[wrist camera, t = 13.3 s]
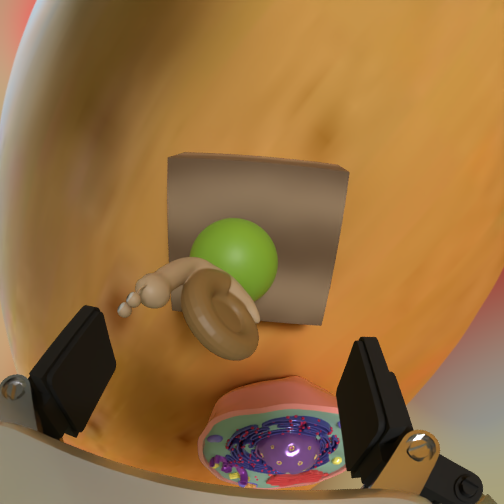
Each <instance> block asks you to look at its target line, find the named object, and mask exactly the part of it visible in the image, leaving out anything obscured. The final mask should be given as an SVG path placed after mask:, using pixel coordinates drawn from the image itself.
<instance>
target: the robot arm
mask: <svg viewBox="0 0 504 504" xmlns="http://www.w3.org/2000/svg"><path fill="white" fill-rule="evenodd" d="M115 368H116V360H115V357H114V353H113V350H112V346H111V343H110V339H109V335H108V331H107V327H106V323H105V319H104V315H103V313H102V312H100V310H99V308H97V307H92V306H87V305H85V306H83V307H82V308H81V309H80V311H79V312H78V313H77V314H76V315H75V316H74V318H73V319H72V320H71V321H70V322H69V324H68V325H67V326H66V327H65V328H64V330H63V331H62V332H61V333H60V335H59V336H58V337H57V338H56V340H55V341H54V342H53V343H52V345H51V346H50V347H49V348H48V350H47V351H46V352H45V353H44V355H43V356H42V357H41V359H40V360H39V361H38V363H37V364H36V365H35V366H34V368H33V369H32V370H31V372H30V373H29V374H30V377H29V378H28V379H27V378H26V377H25V376H23V375H19V374H16V375H11V376H8V377H7V378H5V379H4V380H3V381H2V382H1V384H0V504H497V503H496V502H495V501H494V500H493V499H492V498H491V497H490V496H489V495H488V494H487V495H484V494H483V493H482V492H483V485H482V481H481V480H480V478H479V477H478V476H477V475H475V474H474V473H472V472H471V471H468V470H467V469H465V468H463V467H461V466H459V465H458V464H456V463H454V462H452V461H451V460H449V459H447V458H445V457H444V456H442V455H440V454H439V453H440V445H439V442H438V440H437V439H436V438H435V436H434V435H432V434H430V433H429V432H427V431H424V430H413V427H412V424H411V421H410V417H409V414H408V411H407V408H406V405H405V402H404V399H403V396H402V393H401V390H400V388H399V385H398V382H397V379H396V376H395V375H394V373H393V372H389V370H388V367H387V364H386V361H385V359H384V356H383V353H382V350H381V348H380V345H379V342H378V340H377V338H376V337H360V339H359V341H355V342H354V344H353V347H352V350H351V352H350V355H349V358H348V361H347V364H346V366H345V369H344V372H343V374H342V377H341V380H340V382H339V385H338V387H337V391H336V399H337V406H338V412H339V419H340V426H341V433H342V441H343V448H344V456H345V464H346V470H347V471H351V476H352V478H359V477H361V481H362V483H363V484H364V485H363V486H362V487H361V489H342V490H269V489H254V488H242V487H233V486H224V485H217V484H210V483H203V482H197V481H192V480H186V479H181V478H176V477H172V476H167V475H163V474H158V473H154V472H150V471H146V470H143V469H139V468H135V467H132V466H128V465H125V464H122V463H118V462H115V461H112V460H109V459H106V458H103V457H100V456H97V455H95V454H92V453H89V452H86V451H84V450H81V449H79V448H76V447H73V446H71V445H68V444H66V443H64V441H63V438H62V437H63V435H64V433H66V434H68V435H70V436H73V437H75V438H76V437H77V435H78V433H79V432H82V431H83V430H84V428H85V426H86V424H87V422H88V420H89V418H90V416H91V414H92V412H93V410H94V409H95V407H96V405H97V403H98V401H99V399H100V397H101V395H102V393H103V391H104V389H105V388H106V386H107V384H108V382H109V380H110V378H111V376H112V375H113V373H114V371H115Z"/></svg>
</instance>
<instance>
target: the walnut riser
mask: <svg viewBox="0 0 504 504" xmlns="http://www.w3.org/2000/svg"><path fill="white" fill-rule="evenodd" d="M348 179H349V172H348V171H347V170H345V169H344V168H342V167H340V166H339V165H335V164H328V163H320V162H312V161H303V160H294V159H284V158H273V157H262V156H249V155H234V154H215V153H188V152H184V153H181V154H178V155H174V156H171V157H168V176H167V204H168V247H169V263H170V262H172V261H174V260H177V259H180V258H185V257H190V251H191V248H192V245H193V243H194V241H195V239H196V238H197V236H198V235H199V234H200V233H201V232H202V231H203V230H204V229H205V228H206V227H207V226H209V225H210V224H212V223H214V222H216V221H219V220H222V219H227V218H240V219H245V220H248V221H251V222H253V223H255V224H257V225H258V226H260V227H261V228H262V229H263V230H264V231H265V232H266V233H267V234H268V235H269V236H270V238H271V239H272V241H273V243H274V245H275V248H276V251H277V256H278V268H277V274H276V277H275V279H274V282H273V284H272V285H271V287H270V288H269V290H268V291H267V292H266V293H265V294H264V295H263V296H262V297H261V298H259V299H258V300H256V301H255V302H254V303H255V305H256V307H257V310H258V312H259V316H260V321H268V322H279V323H292V324H305V325H320V326H321V325H322V321H323V316H324V312H325V307H326V303H327V298H328V294H329V289H330V284H331V279H332V274H333V269H334V264H335V259H336V254H337V248H338V243H339V237H340V231H341V225H342V219H343V213H344V207H345V200H346V193H347V186H348ZM182 289H183V285H181V286H179V287H178V288H176V289H175V290H173V291H172V292H171V302H172V310H174V311H181V312H182V307H181V292H182Z"/></svg>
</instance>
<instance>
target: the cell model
mask: <svg viewBox="0 0 504 504" xmlns="http://www.w3.org/2000/svg"><path fill="white" fill-rule="evenodd" d="M198 455H199V459H200V461H201V462H202V464H203V465H204V466H205V467H206V468H207V469H208V470H209V471H210V472H211V473H212V474H214V475H215V476H216V477H217V478H218V479H220V480H222V481H225V482H228V483H231V484H235V485H239V486H240V487H243V488H244V487H245V488H254V489H280V488H289V487H298V486H307V485H312V484H315V483H319V482H321V481H324V480H326V479H329V478H331V477H334V476H336V475H338V474H340V473H342V472H344V471H345V470H346V464H345V456H344V448H343V441H342V433H341V426H340V419H339V412H338V406H337V399H336V396H334V395H332V394H331V393H330V392H328V391H327V390H325V389H323V388H321V387H319V386H317V385H315V384H313V383H311V382H310V381H308V380H306V379H304V378H302V377H299V376H290V377H286V378H282V379H275V380H267V381H261V382H256V383H252V384H248V385H245V386H241V387H237V388H235V389H233V390H231V391H229V392H227V393H226V394H224V395H223V396H221V397H220V398H219V399H218V401H217V402H216V404H215V405H214V407H213V410H212V412H211V415H210V418H209V420H208V423H207V425H206V427H205V428H204V430H203V432H202V433H201V435H200V437H199V439H198Z"/></svg>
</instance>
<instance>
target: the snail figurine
mask: <svg viewBox="0 0 504 504" xmlns="http://www.w3.org/2000/svg"><path fill="white" fill-rule="evenodd" d="M277 268H278V256H277V251H276V248H275V245H274V243H273V241H272V239H271V238H270V236H269V235H268V234H267V233H266V232H265V231H264V230H263V229H262V228H261V227H260V226H258V225H257V224H255V223H253V222H251V221H248V220H245V219H240V218H227V219H222V220H219V221H216V222H214V223H212V224H210V225H209V226H207V227H206V228H205V229H204V230H203V231H202V232H201V233H200V234H199V235H198V236H197V238H196V239H195V241H194V243H193V245H192V248H191V251H190V257H185V258H180V259H177V260H174V261H172V262H170V263H168V264H166V265H164V266H163V267H161V268H159V269H158V270H157V271H156V272H154V273H149V274H146V275H144V276H143V277H142V278H141V279H139V280H138V281H137V283H136V287H135V290H136V292H131V293H130V294H129V295H128V296H127V299H126V302H127V303H126V302H123V303H122V304H120V306H119V307H118V314H119V315H120V316H121V317H124V318H125V317H128V316H130V314H131V312H132V308H131V307H133V308H135V307H137V306H139V305H140V303H142V304H143V305H144V306H146V307H149V308H161V307H163V306H164V305H166V304H167V302H168V301H169V298H170V293H171V292H172V291H173V290H175V289H176V288H178V287H179V286H181V285H183V289H182V292H181V307H182V312H183V315H184V318H185V320H186V322H187V324H188V326H189V328H190V330H191V331H192V333H193V334H194V336H195V337H196V338H197V339H198V340H199V341H200V343H201V344H202V345H203V346H205V347H206V348H207V349H208V350H209V351H211V352H212V353H214V354H215V355H217V356H219V357H222V358H224V359H228V360H243V359H245V358H248V357H250V356H251V355H252V354H253V353H254V352H255V350H256V348H257V346H258V341H259V335H258V329H257V326H256V324H255V323H259V322H260V316H259V312H258V310H257V307H256V305H255V303H254V302H255V301H256V300H258V299H259V298H261V297H262V296H263V295H264V294H265V293H266V292H267V291H268V290H269V288H270V287H271V285H272V284H273V282H274V279H275V277H276V274H277Z"/></svg>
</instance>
